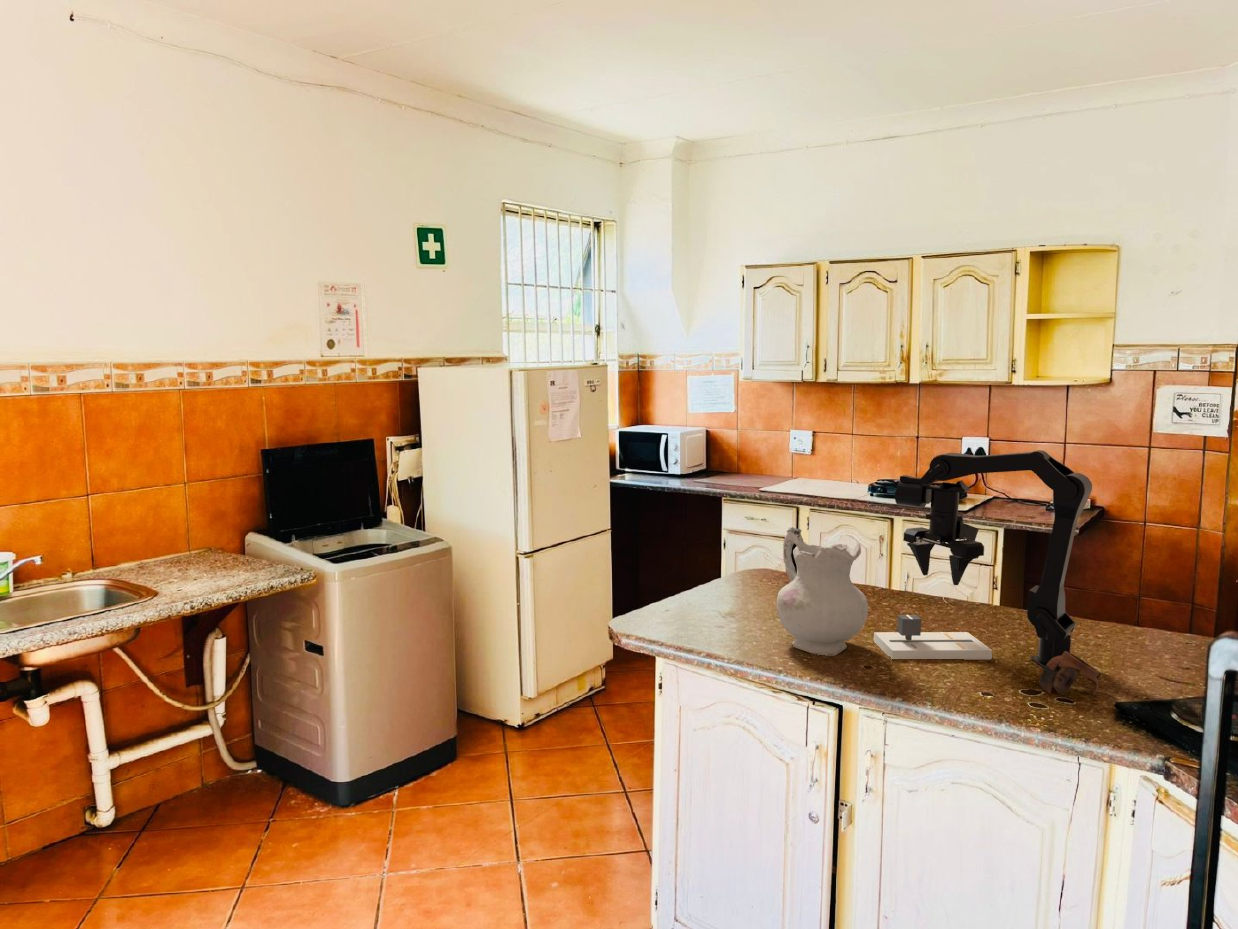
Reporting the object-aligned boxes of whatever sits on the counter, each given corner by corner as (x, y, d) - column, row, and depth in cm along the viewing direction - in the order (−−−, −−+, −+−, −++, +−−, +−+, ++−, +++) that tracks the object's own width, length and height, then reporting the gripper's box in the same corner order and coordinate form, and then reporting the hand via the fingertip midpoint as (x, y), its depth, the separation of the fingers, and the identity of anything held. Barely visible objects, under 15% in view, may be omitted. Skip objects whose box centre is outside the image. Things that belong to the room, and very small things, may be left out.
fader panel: (991, 659, 183) (992, 649, 183) (892, 659, 183) (892, 650, 182) (967, 640, 195) (967, 632, 195) (873, 641, 194) (873, 632, 194)
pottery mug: (1036, 679, 173) (1061, 645, 172) (1082, 711, 169) (1108, 676, 167) (1030, 683, 163) (1056, 647, 162) (1078, 716, 158) (1106, 680, 157)
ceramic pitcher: (750, 647, 193) (748, 537, 189) (799, 621, 207) (798, 519, 202) (836, 672, 178) (836, 554, 174) (884, 643, 192) (885, 533, 187)
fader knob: (920, 641, 187) (921, 619, 186) (901, 641, 187) (902, 619, 186) (914, 637, 190) (916, 614, 189) (896, 637, 190) (897, 614, 189)
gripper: (1005, 515, 187) (1000, 586, 189) (941, 501, 204) (937, 567, 206) (966, 518, 182) (961, 592, 184) (903, 504, 199) (900, 571, 201)
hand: (940, 580), depth 194 cm, fingers open, 9 cm apart
